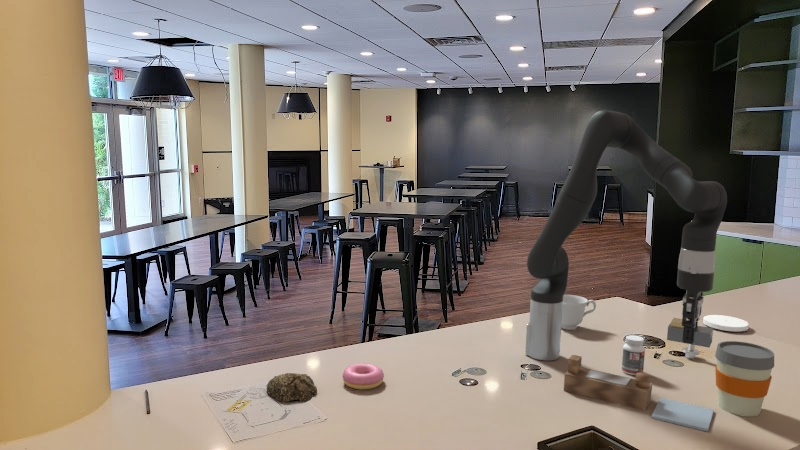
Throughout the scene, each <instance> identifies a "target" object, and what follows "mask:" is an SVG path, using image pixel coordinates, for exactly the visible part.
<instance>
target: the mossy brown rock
mask: <svg viewBox="0 0 800 450" xmlns="http://www.w3.org/2000/svg"><path fill="white" fill-rule="evenodd" d="M266 391H267V393H268V394H269V396H270V397H271V398H273V399H275V400H277V401H278V402H280V403H286V402H287V403H288V402H292V401H293V402H294V401H300V402H307V401H309V400H311V399H312V398H313V396H315V395H317V394H318V388H317V385H315V382H314V380H313V378H312V377H311V376H310V375H308V374H307V373H294V372H292V373H291V372H287V373H286V372H285V373H282V374H279V375H274V377H273V378H271V379H269V380H268V382H267V385H266Z"/></svg>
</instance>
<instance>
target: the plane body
mask: <svg viewBox="0 0 800 450" xmlns="http://www.w3.org/2000/svg"><path fill="white" fill-rule="evenodd" d="M563 381H564V382H563V391H565V392H568V393H572V394H578V395H581V396H586V397H589V398H594V399H598V400H600V401H601V400H602V401H606V402H609V403H613V404H619V405H623V406H627V407H631V408H635V409H638V410H642V411H646V409H648V406H649V404H650V403H651V400H652V391H653V390H652V389H653V382H650V381H651V375H650V374H649V373H646V372H643V373H637V374H636V375H635V378H633V377H628V376H627V377H626V376H623V375H620V374H619V375H618V374H614V373H609V372H604V371H599V370H594V369H590V368H585V367H582V356H580V355H576V354H571V356H570V357H569V358H568V359H567V371H566V372H565V373H564V380H563Z"/></svg>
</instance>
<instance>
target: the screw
mask: <svg viewBox="0 0 800 450" xmlns="http://www.w3.org/2000/svg"><path fill="white" fill-rule="evenodd" d="M695 346H696V345H692V344H688V346H687V347H682V348H681V352H683V353H684V354H685V355H684V357H685V358H686V359H691V360H694V359H696V356H697V355H700V354H701V352H700V351H699V349H697V348H695Z"/></svg>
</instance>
